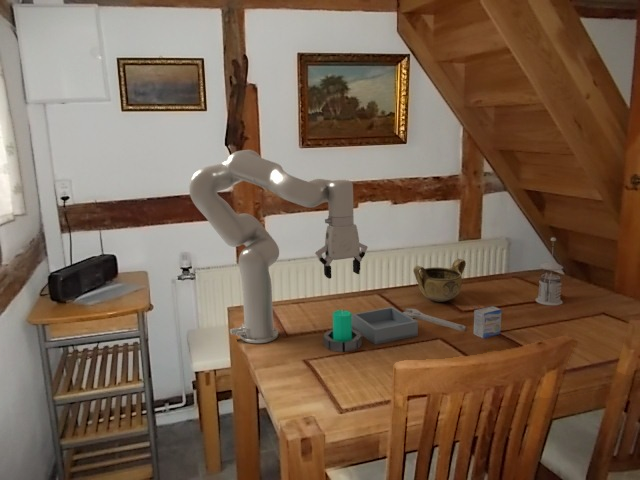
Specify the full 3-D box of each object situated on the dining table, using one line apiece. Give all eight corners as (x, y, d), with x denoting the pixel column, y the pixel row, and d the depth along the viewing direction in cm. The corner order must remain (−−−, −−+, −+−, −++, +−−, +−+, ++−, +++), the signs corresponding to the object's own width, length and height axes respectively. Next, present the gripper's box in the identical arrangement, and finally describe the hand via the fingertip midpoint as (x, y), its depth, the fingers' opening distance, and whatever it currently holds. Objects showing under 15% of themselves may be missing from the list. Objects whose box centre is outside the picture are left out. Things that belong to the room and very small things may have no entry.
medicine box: (482, 339, 181) (483, 313, 179) (472, 334, 185) (474, 309, 183) (500, 334, 185) (502, 309, 183) (490, 329, 188) (492, 305, 186)
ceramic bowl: (449, 289, 232) (450, 254, 228) (476, 301, 216) (478, 263, 213) (403, 297, 223) (403, 261, 219) (428, 310, 208) (429, 271, 204)
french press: (564, 299, 217) (569, 236, 211) (559, 308, 207) (564, 242, 202) (538, 295, 222) (542, 233, 216) (531, 304, 212) (535, 239, 207)
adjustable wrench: (467, 330, 189) (467, 325, 189) (455, 335, 185) (455, 330, 185) (410, 311, 208) (410, 307, 208) (398, 315, 204) (399, 311, 204)
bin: (374, 344, 178) (374, 329, 177) (352, 327, 193) (351, 314, 192) (417, 335, 185) (417, 321, 183) (392, 320, 199) (392, 306, 198)
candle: (350, 348, 176) (350, 312, 173) (331, 347, 177) (330, 311, 174) (353, 341, 182) (352, 305, 179) (334, 339, 183) (334, 304, 180)
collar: (333, 354, 172) (333, 345, 171) (318, 340, 182) (318, 332, 182) (367, 347, 176) (367, 338, 176) (350, 334, 187) (350, 326, 186)
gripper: (320, 226, 164) (321, 282, 168) (372, 220, 170) (372, 274, 174) (310, 222, 170) (312, 276, 174) (360, 216, 177) (361, 268, 181)
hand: (342, 275), depth 174 cm, fingers open, 9 cm apart
